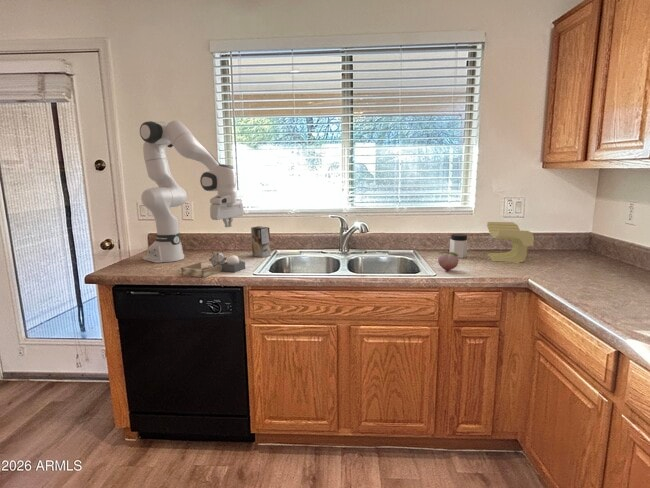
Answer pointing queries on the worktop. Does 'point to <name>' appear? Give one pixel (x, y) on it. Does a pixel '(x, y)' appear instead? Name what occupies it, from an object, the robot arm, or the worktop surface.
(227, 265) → the base
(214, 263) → the grey spiky ball
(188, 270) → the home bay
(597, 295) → the worktop surface
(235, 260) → the cream ball
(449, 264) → the decorative fruit
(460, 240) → the jar
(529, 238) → the olive c-shaped block
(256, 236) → the coffee box
